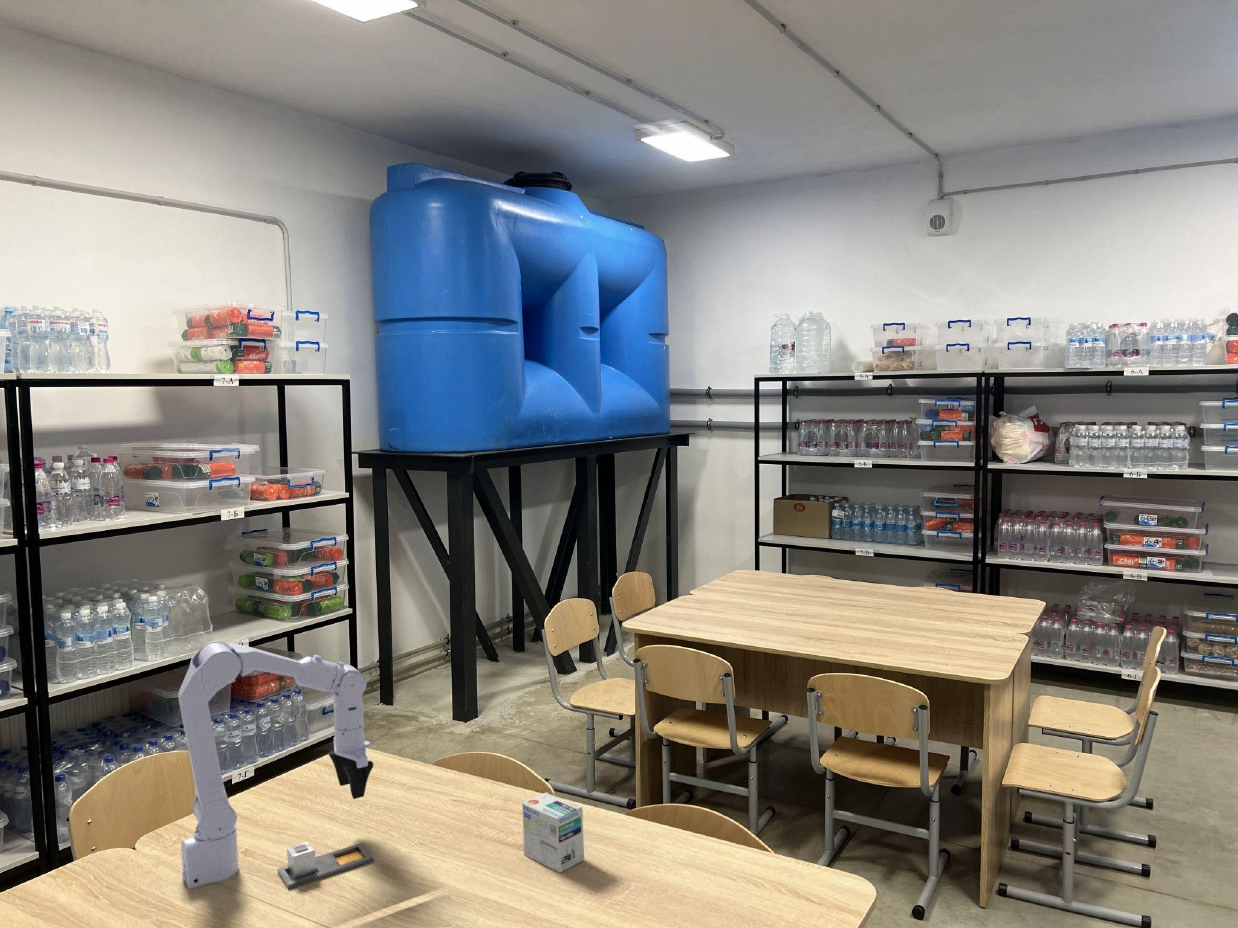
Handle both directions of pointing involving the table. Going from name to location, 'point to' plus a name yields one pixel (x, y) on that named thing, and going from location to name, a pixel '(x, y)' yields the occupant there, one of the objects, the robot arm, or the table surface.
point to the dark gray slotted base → (331, 864)
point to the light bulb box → (553, 831)
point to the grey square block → (301, 860)
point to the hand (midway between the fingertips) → (351, 790)
